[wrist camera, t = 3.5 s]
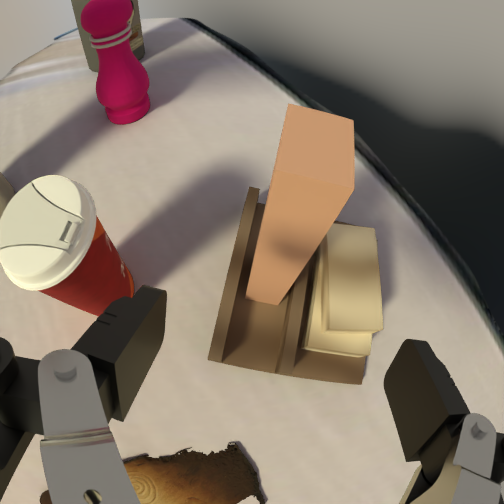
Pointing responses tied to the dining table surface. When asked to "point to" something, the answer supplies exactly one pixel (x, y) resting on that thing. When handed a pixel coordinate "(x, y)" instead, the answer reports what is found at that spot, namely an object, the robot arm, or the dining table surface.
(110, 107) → the pepper mill
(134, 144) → the dining table surface
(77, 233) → the paper cup
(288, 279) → the terracotta block
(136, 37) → the liquor
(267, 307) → the walnut rack
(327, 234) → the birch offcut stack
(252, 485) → the parchment
